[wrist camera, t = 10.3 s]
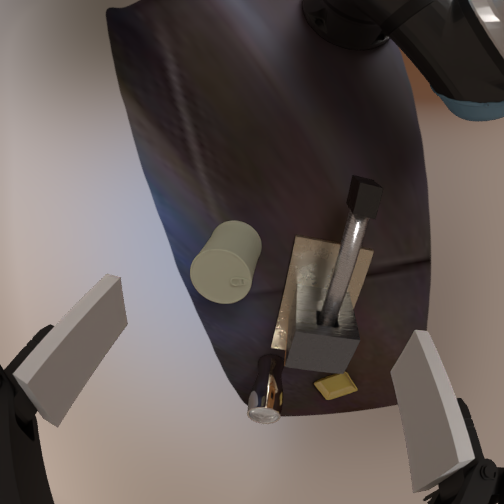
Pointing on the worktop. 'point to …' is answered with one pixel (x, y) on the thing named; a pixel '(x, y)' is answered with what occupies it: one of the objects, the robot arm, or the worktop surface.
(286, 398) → the worktop surface
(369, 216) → the shaft
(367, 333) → the worktop surface
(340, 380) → the saucer
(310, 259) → the block
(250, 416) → the beer glass
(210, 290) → the can
